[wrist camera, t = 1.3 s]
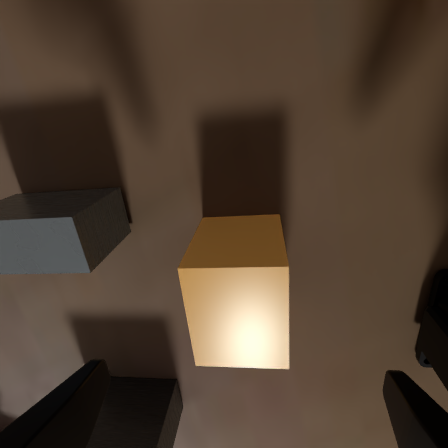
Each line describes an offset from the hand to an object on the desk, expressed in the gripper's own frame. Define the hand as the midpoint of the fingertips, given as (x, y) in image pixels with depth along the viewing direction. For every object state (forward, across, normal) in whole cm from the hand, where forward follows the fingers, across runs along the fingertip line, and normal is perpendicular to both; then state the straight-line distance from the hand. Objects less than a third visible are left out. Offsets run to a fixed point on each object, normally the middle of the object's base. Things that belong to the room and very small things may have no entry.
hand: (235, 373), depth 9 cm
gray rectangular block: (+7, +9, -3) cm, 12 cm away
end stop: (+7, +9, +11) cm, 16 cm away
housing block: (+7, 0, 0) cm, 7 cm away
